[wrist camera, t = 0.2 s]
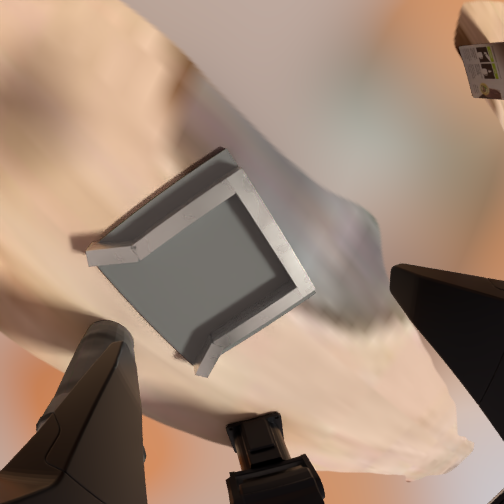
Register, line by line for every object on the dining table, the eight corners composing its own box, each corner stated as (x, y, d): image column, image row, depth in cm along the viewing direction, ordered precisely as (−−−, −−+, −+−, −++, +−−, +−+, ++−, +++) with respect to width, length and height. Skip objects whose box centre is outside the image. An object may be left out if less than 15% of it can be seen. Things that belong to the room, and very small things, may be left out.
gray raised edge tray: (196, 366, 27) (197, 369, 27) (87, 250, 21) (86, 252, 21) (314, 290, 27) (315, 293, 27) (225, 148, 21) (226, 148, 21)
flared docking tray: (199, 367, 27) (201, 380, 26) (86, 246, 21) (79, 255, 19) (315, 293, 27) (324, 303, 26) (223, 145, 21) (227, 145, 19)
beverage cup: (132, 381, 26) (133, 581, 8) (64, 351, 24) (16, 550, 6) (162, 328, 25) (179, 572, 7) (85, 291, 22) (9, 533, 4)
